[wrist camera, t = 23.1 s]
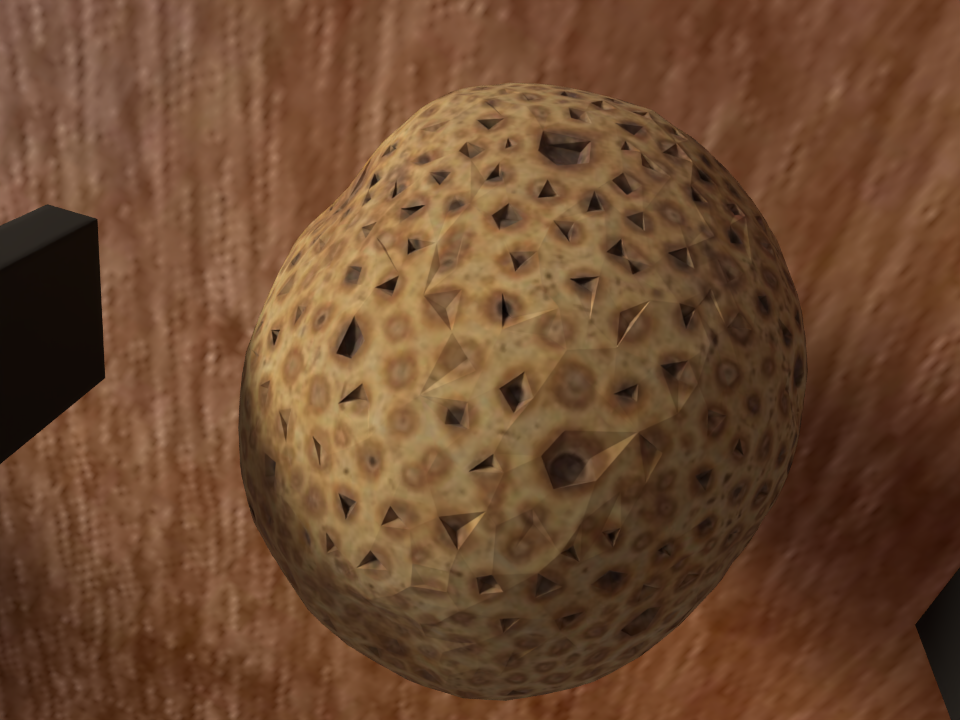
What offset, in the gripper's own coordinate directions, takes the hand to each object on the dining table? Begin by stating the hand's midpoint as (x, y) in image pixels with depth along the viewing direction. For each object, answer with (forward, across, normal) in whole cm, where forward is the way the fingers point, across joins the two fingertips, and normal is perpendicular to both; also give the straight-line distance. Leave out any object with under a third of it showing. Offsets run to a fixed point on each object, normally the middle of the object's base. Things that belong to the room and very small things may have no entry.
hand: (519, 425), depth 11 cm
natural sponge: (+7, 0, 0) cm, 7 cm away
